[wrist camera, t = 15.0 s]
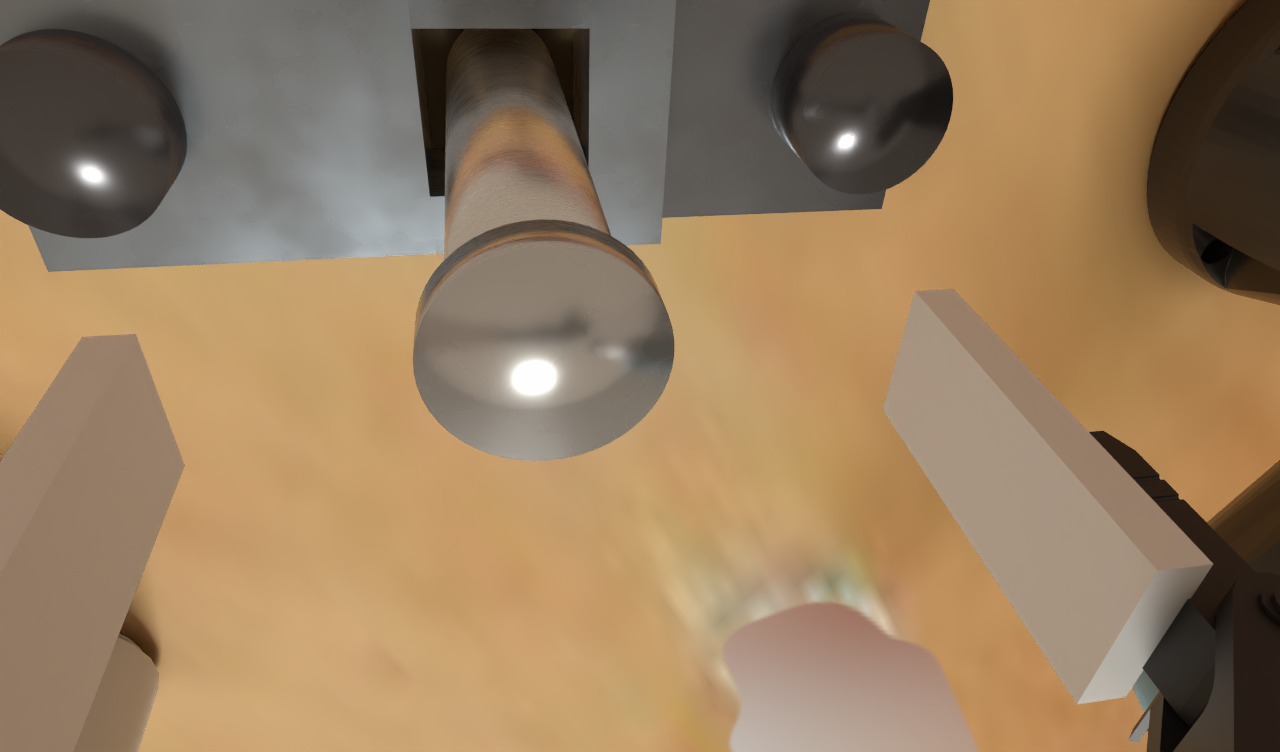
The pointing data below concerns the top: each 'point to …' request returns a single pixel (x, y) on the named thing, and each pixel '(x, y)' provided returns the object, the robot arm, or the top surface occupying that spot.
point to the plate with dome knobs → (399, 124)
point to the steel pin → (531, 272)
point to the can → (121, 701)
